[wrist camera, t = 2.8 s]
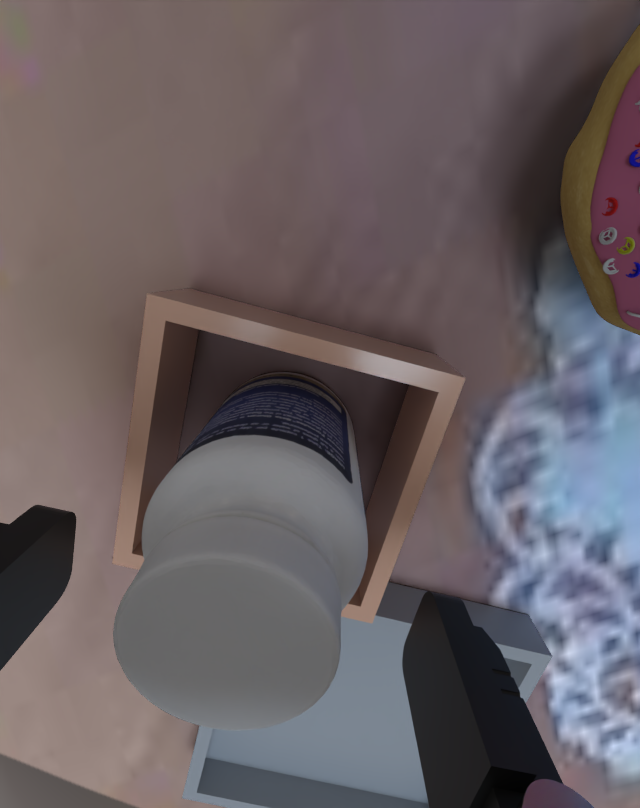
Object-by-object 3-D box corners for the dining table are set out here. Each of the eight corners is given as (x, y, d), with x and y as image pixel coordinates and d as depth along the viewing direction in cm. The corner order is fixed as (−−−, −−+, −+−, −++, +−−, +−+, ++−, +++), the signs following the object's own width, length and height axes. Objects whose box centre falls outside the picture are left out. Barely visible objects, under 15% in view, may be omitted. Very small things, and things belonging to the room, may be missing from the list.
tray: (245, 548, 18) (234, 582, 16) (528, 614, 19) (552, 656, 17) (195, 750, 22) (181, 798, 20) (431, 799, 23) (441, 850, 21)
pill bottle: (193, 399, 16) (4, 576, 7) (323, 347, 15) (309, 467, 6) (252, 513, 18) (162, 787, 8) (373, 471, 17) (424, 721, 8)
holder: (188, 288, 15) (146, 293, 11) (436, 354, 15) (465, 378, 12) (153, 507, 18) (112, 563, 14) (364, 558, 18) (372, 623, 15)
